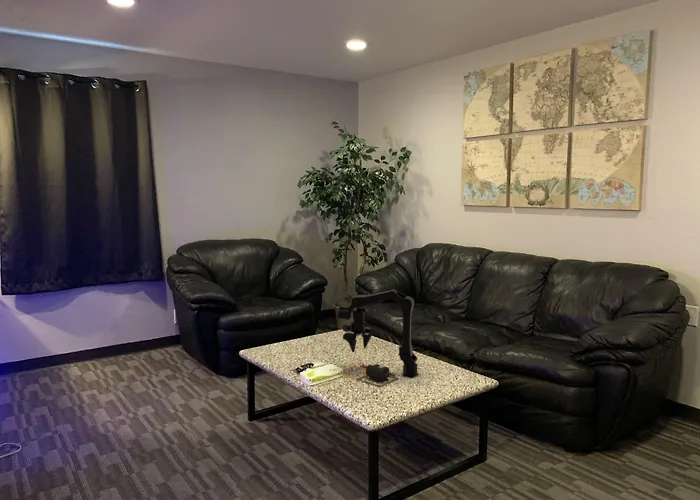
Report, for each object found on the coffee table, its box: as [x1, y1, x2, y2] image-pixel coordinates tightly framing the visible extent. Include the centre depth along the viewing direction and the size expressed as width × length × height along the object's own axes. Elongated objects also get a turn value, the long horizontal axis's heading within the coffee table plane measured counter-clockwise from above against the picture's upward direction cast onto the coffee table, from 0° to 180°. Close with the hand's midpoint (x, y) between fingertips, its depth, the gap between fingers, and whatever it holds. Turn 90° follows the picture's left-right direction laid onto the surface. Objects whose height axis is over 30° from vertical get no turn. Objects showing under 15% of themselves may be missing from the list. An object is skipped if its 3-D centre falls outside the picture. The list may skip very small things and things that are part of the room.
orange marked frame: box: [341, 365, 366, 381], centre depth 266 cm, size 15×15×1 cm
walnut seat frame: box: [356, 374, 400, 388], centre depth 256 cm, size 15×15×1 cm
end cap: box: [365, 363, 390, 383], centre depth 256 cm, size 10×7×7 cm
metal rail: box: [360, 363, 397, 377], centre depth 267 cm, size 22×2×1 cm, turn 47°
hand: (359, 350), depth 268 cm, fingers open, 9 cm apart
